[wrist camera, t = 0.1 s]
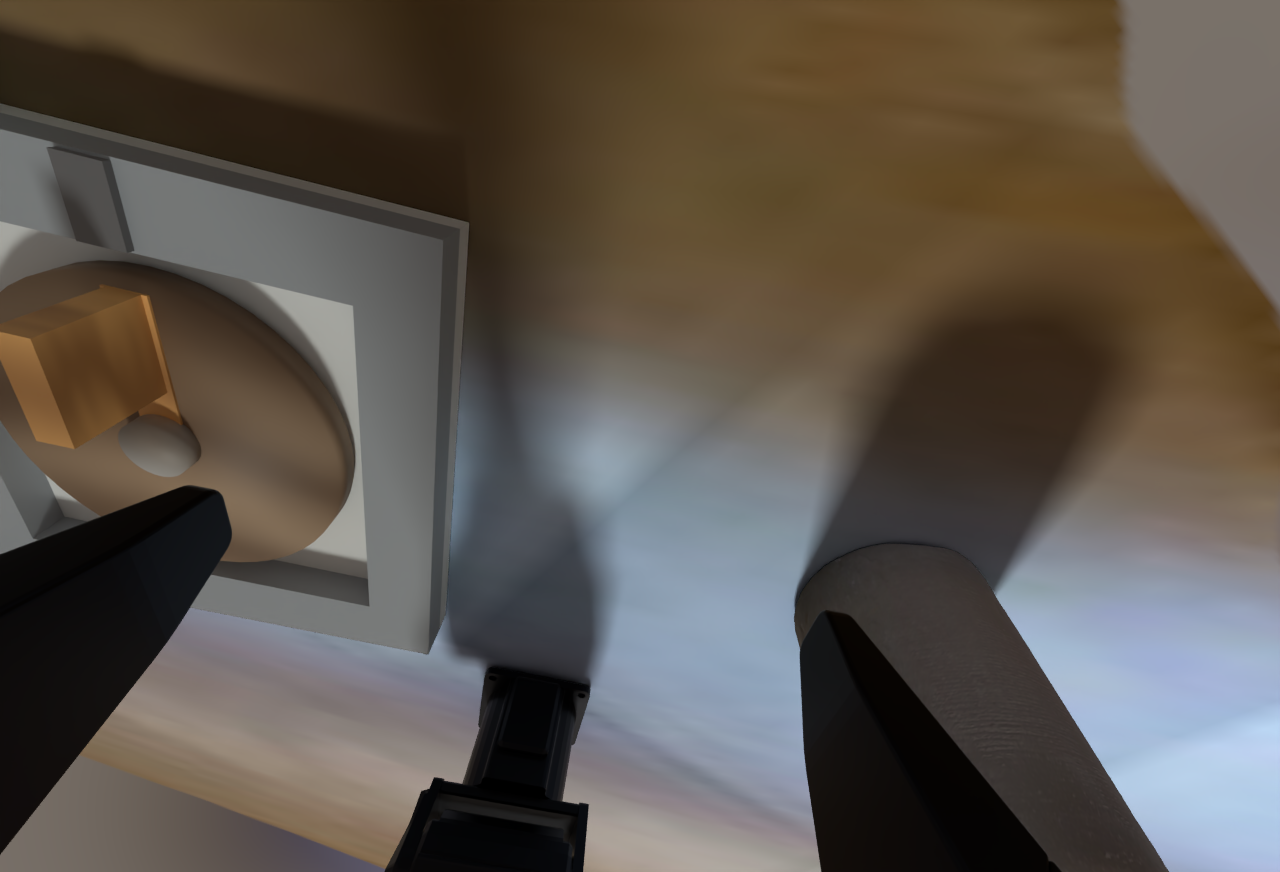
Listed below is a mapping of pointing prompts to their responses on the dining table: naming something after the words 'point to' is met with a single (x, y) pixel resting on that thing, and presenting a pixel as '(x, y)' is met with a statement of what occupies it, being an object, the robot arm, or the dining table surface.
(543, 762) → the robot arm
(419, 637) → the dial plate
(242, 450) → the dial
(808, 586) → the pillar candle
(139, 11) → the dining table surface
